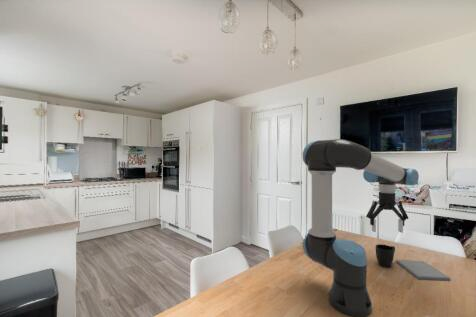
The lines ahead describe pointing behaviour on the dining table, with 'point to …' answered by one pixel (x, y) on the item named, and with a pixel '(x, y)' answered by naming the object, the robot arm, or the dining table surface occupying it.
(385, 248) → the mug
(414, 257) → the dining table surface
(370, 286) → the dining table surface
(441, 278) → the slate board
